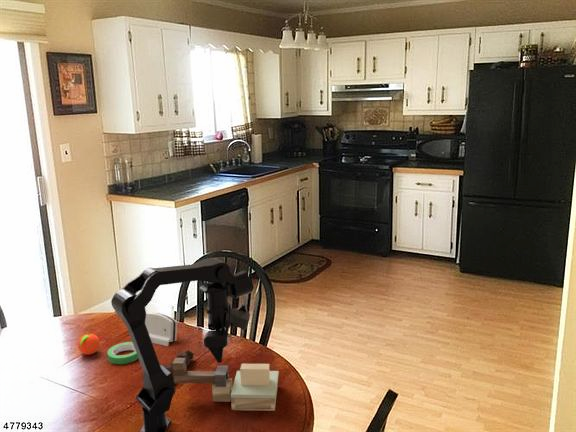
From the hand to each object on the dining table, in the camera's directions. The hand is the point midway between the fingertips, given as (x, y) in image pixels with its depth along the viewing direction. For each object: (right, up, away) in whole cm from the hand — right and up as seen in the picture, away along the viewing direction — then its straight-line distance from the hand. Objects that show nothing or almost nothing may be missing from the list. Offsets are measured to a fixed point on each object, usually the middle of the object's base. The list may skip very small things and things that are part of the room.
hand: (222, 353), depth 143 cm
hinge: (-29, -5, +41) cm, 50 cm away
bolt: (-16, -11, +18) cm, 26 cm away
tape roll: (-36, -9, +28) cm, 47 cm away
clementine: (-49, -8, +29) cm, 58 cm away
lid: (+9, -9, +1) cm, 13 cm away
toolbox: (+6, -13, +2) cm, 15 cm away
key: (-8, -8, +2) cm, 11 cm away
